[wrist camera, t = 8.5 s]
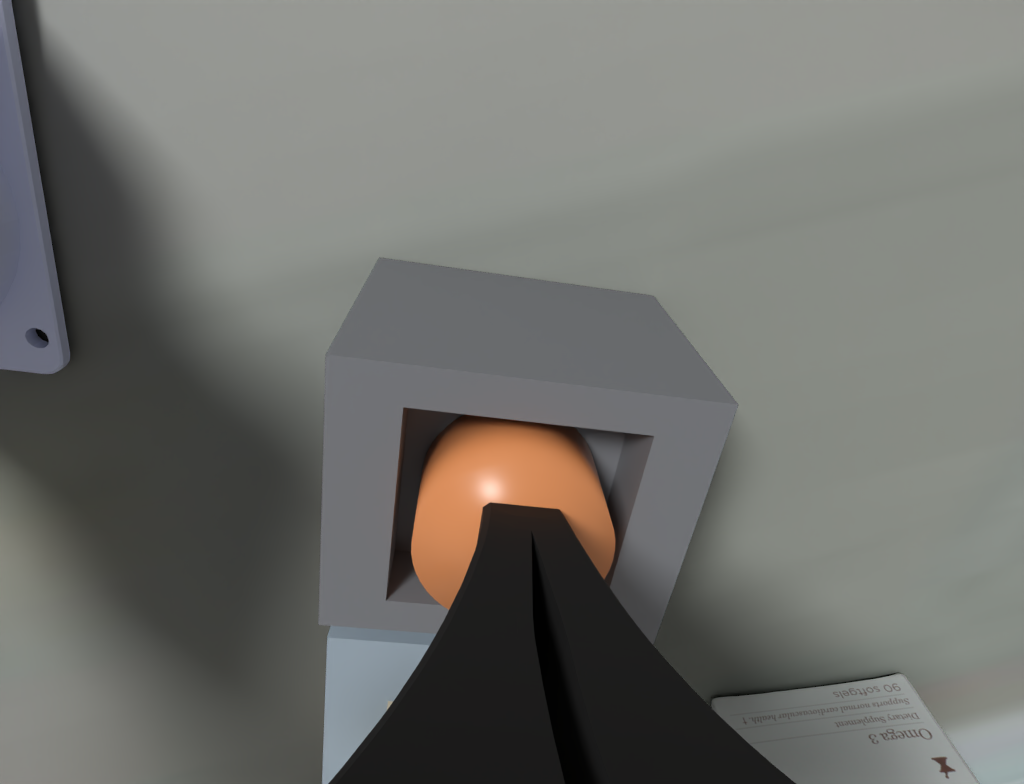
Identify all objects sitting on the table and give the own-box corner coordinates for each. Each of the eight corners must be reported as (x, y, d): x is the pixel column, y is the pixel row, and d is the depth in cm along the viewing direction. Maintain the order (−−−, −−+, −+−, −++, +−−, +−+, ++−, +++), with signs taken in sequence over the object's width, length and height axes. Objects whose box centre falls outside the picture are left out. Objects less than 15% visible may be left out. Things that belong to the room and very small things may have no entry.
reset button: (430, 393, 12) (420, 454, 10) (612, 414, 13) (636, 477, 11) (414, 540, 14) (403, 618, 12) (576, 555, 14) (592, 633, 12)
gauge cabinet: (378, 257, 16) (325, 354, 10) (672, 298, 16) (765, 408, 11) (366, 462, 18) (318, 624, 13) (619, 488, 19) (674, 651, 14)
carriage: (345, 569, 16) (284, 794, 11) (609, 592, 17) (663, 812, 12) (336, 743, 19) (285, 982, 14) (560, 756, 20) (587, 987, 15)
